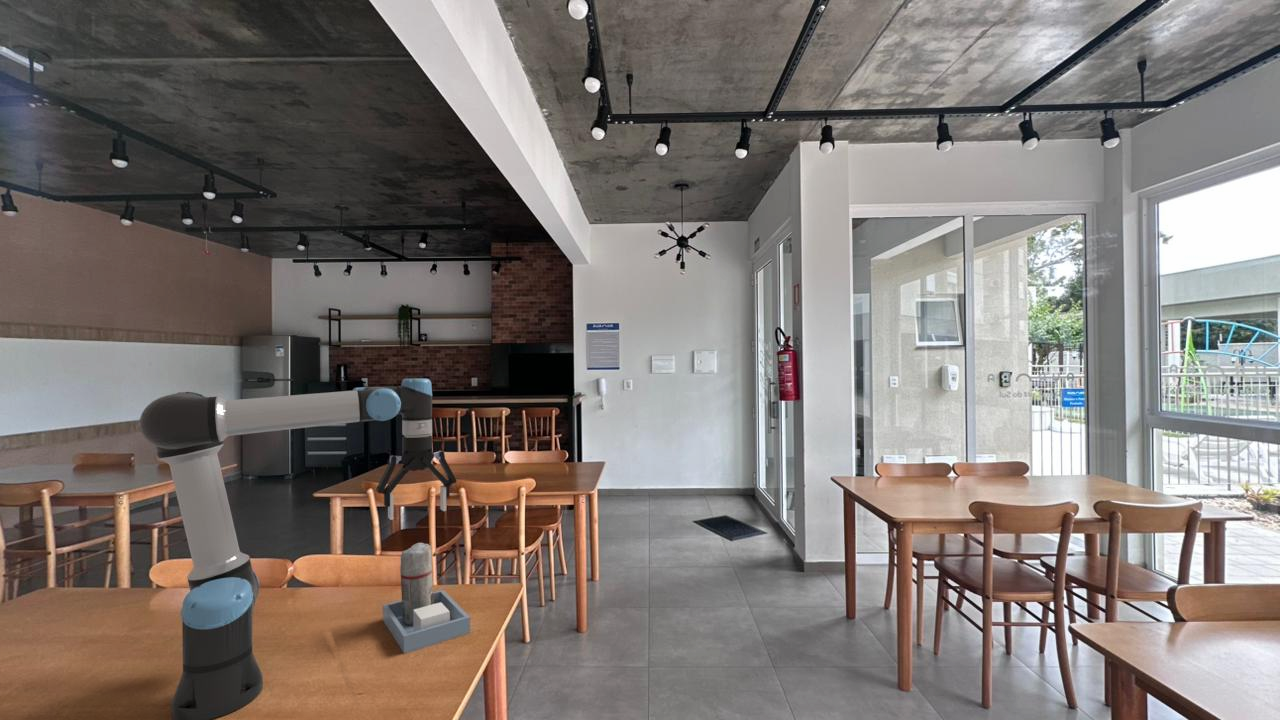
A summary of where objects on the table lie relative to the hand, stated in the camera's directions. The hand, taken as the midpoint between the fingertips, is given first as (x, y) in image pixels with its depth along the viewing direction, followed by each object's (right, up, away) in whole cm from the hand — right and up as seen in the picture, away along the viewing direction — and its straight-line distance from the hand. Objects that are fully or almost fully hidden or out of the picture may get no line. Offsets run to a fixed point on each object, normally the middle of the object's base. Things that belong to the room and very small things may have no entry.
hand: (417, 514), depth 148 cm
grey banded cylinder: (0, -29, 0) cm, 29 cm away
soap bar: (+7, -28, -8) cm, 30 cm away
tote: (+4, -29, -4) cm, 30 cm away
